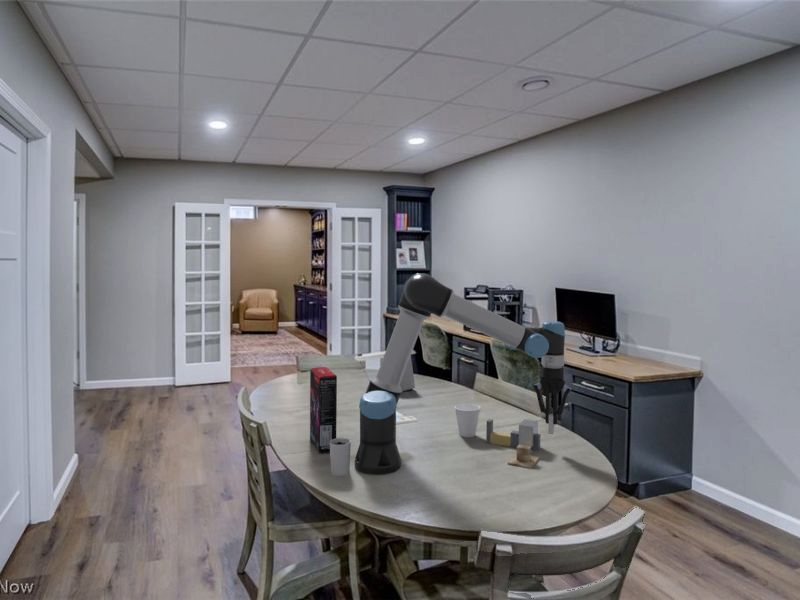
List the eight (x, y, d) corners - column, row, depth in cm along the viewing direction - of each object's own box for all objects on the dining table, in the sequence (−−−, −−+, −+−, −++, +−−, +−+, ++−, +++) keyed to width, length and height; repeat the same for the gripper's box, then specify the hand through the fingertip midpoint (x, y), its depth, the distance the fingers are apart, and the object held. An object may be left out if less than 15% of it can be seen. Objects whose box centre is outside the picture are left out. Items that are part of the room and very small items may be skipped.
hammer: (486, 442, 204) (486, 421, 203) (488, 440, 206) (489, 419, 206) (538, 450, 195) (538, 428, 194) (540, 448, 198) (540, 426, 197)
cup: (459, 440, 206) (460, 411, 205) (450, 432, 215) (450, 404, 214) (484, 438, 208) (485, 409, 207) (474, 430, 218) (474, 402, 217)
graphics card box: (308, 439, 206) (308, 367, 204) (327, 437, 209) (326, 366, 207) (318, 455, 190) (318, 376, 188) (338, 452, 193) (338, 375, 191)
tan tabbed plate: (507, 464, 182) (507, 449, 182) (515, 454, 191) (516, 440, 191) (531, 468, 179) (532, 453, 178) (539, 458, 188) (539, 444, 187)
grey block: (518, 444, 196) (518, 424, 195) (523, 438, 202) (524, 419, 202) (532, 446, 194) (533, 426, 193) (537, 440, 200) (538, 421, 200)
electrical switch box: (378, 391, 290) (372, 354, 288) (403, 384, 296) (398, 348, 294) (389, 397, 277) (383, 359, 274) (415, 390, 283) (410, 352, 280)
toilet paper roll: (325, 472, 175) (325, 441, 174) (342, 466, 180) (341, 436, 179) (338, 478, 170) (338, 446, 170) (355, 472, 175) (355, 441, 174)
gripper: (531, 366, 192) (530, 433, 194) (570, 369, 186) (568, 438, 188) (536, 362, 199) (535, 427, 200) (574, 366, 193) (572, 432, 194)
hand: (551, 432), depth 194 cm, fingers closed
